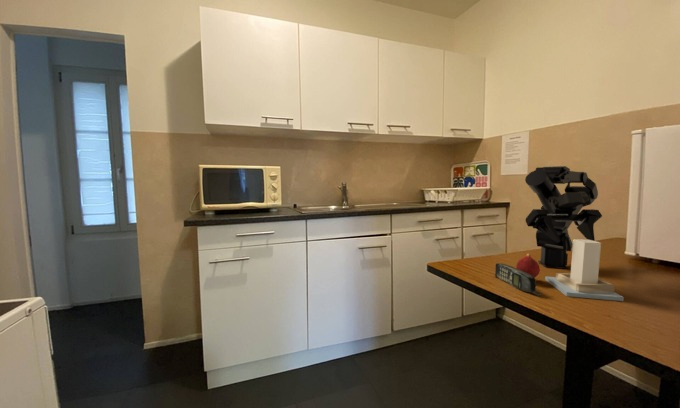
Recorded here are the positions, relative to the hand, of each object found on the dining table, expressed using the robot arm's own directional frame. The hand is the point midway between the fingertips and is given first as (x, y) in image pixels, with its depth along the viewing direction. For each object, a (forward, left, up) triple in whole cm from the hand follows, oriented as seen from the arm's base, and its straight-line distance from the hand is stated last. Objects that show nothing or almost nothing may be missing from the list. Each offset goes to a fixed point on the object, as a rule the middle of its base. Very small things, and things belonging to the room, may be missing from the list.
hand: (575, 241), depth 79 cm
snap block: (+1, -4, -11) cm, 12 cm away
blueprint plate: (0, -4, -12) cm, 13 cm away
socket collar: (0, -4, -12) cm, 13 cm away
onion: (-12, 0, -13) cm, 17 cm away
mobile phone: (-16, -5, -13) cm, 21 cm away
